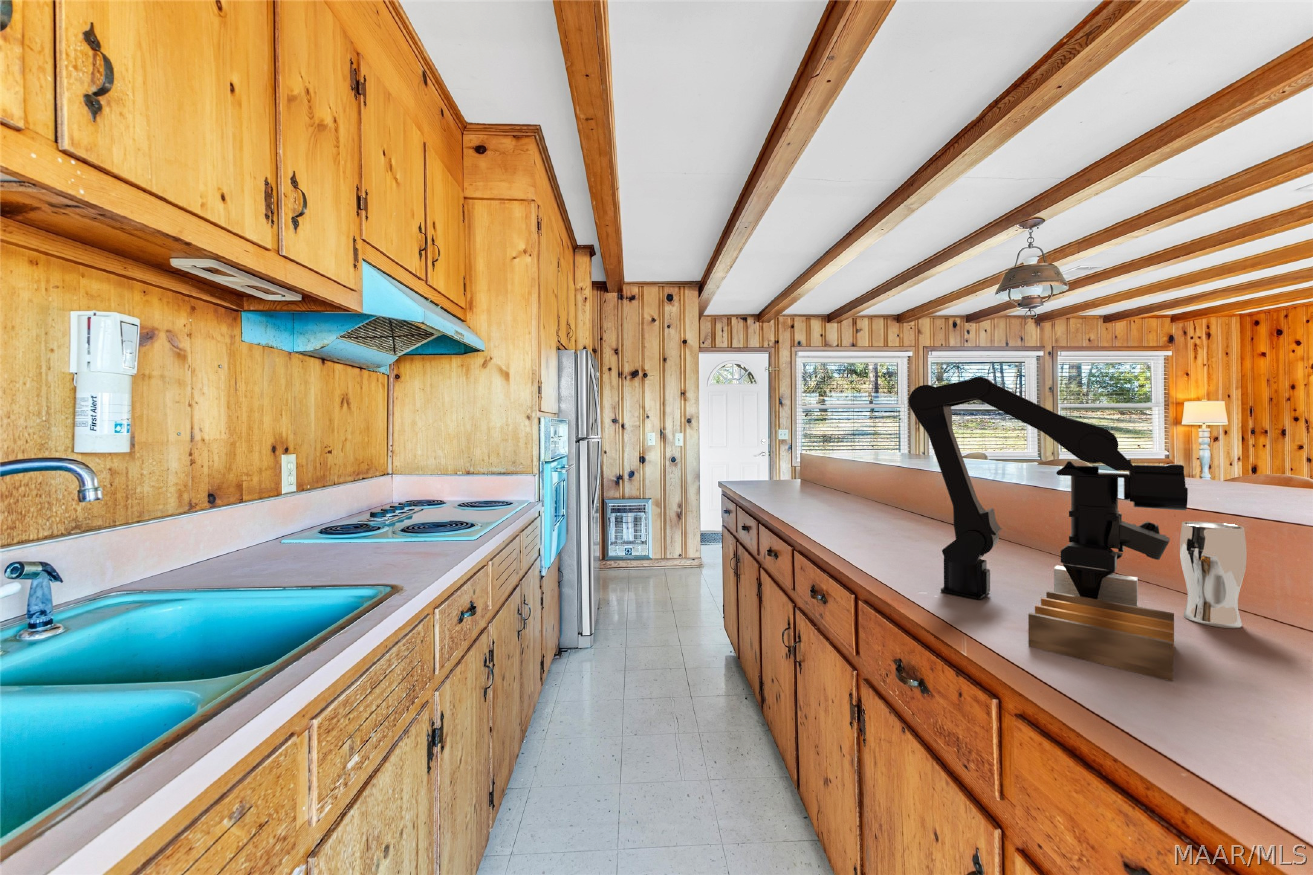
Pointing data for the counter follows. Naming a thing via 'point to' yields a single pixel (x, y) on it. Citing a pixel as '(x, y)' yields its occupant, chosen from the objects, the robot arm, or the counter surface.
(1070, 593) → the aluminium panel
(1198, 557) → the beer glass
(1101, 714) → the counter surface
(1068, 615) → the walnut rack
